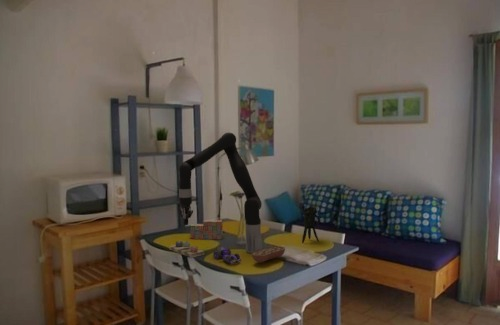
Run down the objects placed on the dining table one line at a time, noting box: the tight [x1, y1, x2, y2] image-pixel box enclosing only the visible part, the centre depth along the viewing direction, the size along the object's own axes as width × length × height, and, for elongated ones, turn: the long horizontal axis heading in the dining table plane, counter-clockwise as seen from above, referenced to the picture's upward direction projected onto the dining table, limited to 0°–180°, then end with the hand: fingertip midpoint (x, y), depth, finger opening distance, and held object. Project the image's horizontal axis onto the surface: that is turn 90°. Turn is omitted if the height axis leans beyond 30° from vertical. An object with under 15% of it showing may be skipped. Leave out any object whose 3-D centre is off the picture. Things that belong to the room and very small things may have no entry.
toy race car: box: [213, 245, 242, 265], centre depth 228 cm, size 10×15×6 cm, turn 44°
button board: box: [169, 244, 205, 258], centre depth 243 cm, size 24×9×2 cm, turn 42°
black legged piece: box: [300, 203, 321, 244], centre depth 261 cm, size 19×12×25 cm, turn 138°
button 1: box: [190, 245, 199, 252], centre depth 237 cm, size 4×4×3 cm
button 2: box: [183, 241, 191, 247], centre depth 243 cm, size 4×4×3 cm
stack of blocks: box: [189, 219, 223, 240], centre depth 276 cm, size 21×6×12 cm, turn 85°
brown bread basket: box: [251, 245, 286, 263], centre depth 228 cm, size 23×10×5 cm, turn 134°
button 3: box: [175, 240, 184, 247], centre depth 249 cm, size 4×4×3 cm
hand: (185, 224), depth 242 cm, fingers closed
